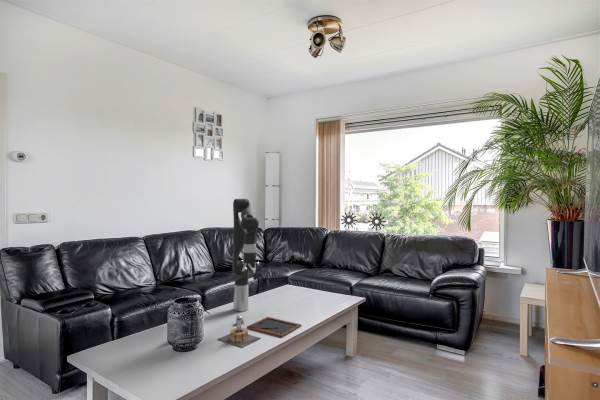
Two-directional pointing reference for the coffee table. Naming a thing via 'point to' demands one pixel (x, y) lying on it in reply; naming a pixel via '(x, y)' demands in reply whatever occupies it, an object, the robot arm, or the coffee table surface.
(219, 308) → the coffee table surface
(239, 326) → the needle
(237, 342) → the cake on slate board
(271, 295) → the coffee table surface
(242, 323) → the bead
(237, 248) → the robot arm
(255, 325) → the picture frame
